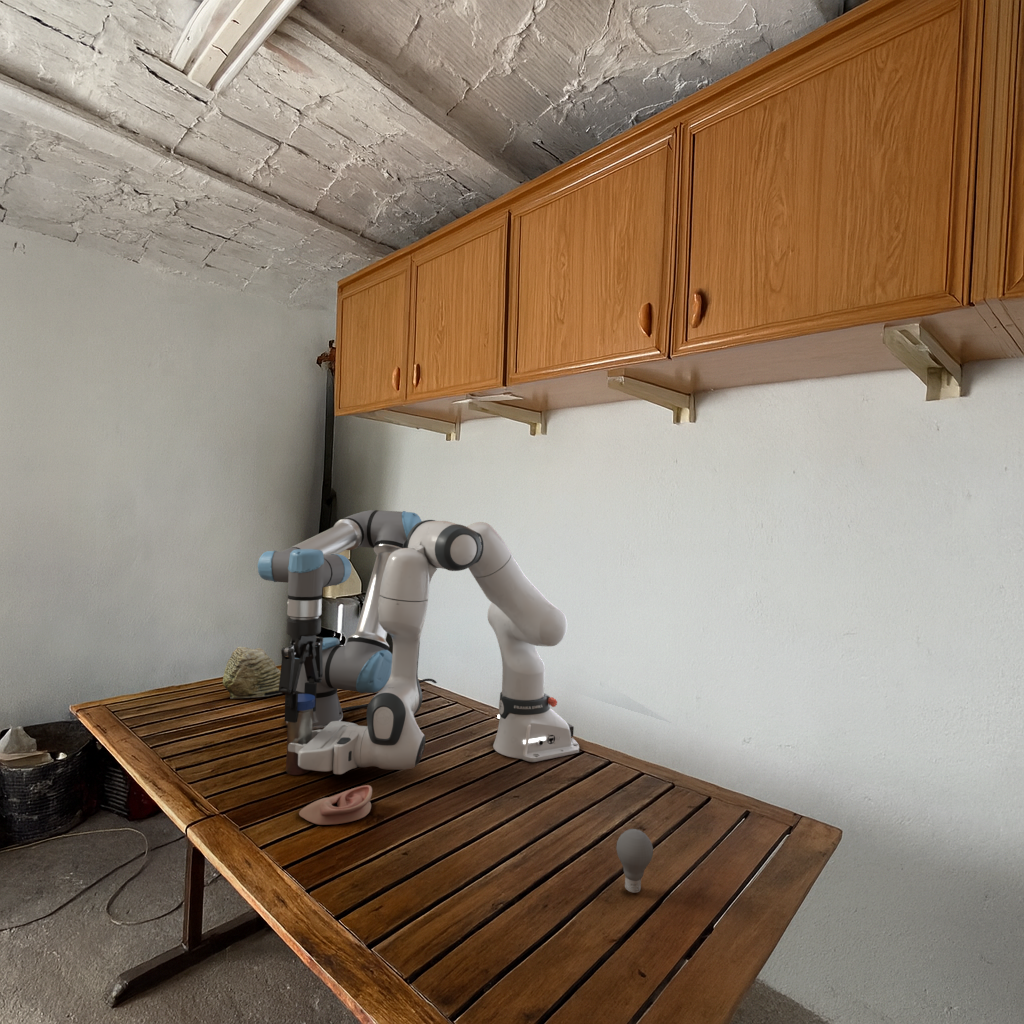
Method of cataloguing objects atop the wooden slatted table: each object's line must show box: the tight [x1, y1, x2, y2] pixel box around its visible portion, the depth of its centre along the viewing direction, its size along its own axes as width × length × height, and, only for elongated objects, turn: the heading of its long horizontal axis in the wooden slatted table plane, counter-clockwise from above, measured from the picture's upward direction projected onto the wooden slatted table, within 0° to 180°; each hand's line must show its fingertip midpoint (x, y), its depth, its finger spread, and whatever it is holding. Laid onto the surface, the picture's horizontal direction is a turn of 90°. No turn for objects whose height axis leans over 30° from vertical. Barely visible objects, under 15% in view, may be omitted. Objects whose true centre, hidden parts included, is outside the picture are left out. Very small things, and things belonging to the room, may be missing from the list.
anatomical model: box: [298, 784, 373, 826], centre depth 127 cm, size 13×4×12 cm
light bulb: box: [615, 828, 654, 894], centre depth 106 cm, size 6×6×10 cm
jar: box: [285, 708, 313, 776], centre depth 146 cm, size 5×5×16 cm
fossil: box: [222, 646, 282, 699], centre depth 198 cm, size 9×18×15 cm, turn 132°
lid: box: [297, 694, 315, 711], centre depth 146 cm, size 6×6×2 cm
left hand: (300, 715), depth 146 cm, fingers open, 7 cm apart
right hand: (295, 740), depth 146 cm, fingers closed on jar, 5 cm apart
